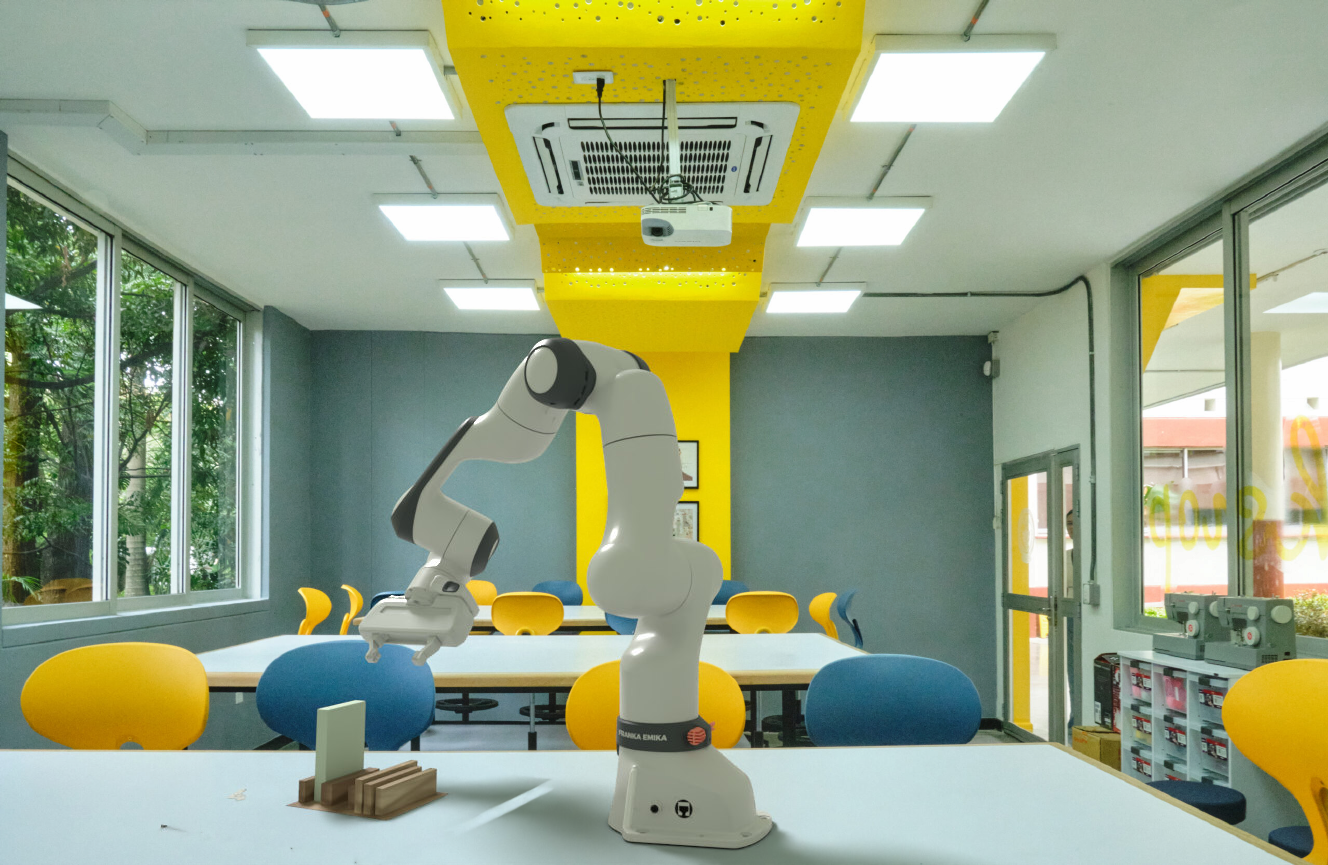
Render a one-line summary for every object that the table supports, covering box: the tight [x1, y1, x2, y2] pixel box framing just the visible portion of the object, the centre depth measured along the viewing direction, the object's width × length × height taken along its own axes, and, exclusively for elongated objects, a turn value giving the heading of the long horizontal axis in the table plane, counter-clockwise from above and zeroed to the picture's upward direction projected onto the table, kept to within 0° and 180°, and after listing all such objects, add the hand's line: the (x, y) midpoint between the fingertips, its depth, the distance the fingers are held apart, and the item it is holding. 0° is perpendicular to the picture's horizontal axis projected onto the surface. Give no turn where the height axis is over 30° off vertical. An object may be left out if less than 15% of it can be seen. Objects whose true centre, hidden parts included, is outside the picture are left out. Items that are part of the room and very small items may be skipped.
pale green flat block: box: [314, 699, 366, 802], centre depth 138 cm, size 2×8×13 cm, turn 157°
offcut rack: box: [285, 759, 450, 821], centre depth 134 cm, size 18×14×6 cm
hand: (393, 661), depth 149 cm, fingers open, 8 cm apart
